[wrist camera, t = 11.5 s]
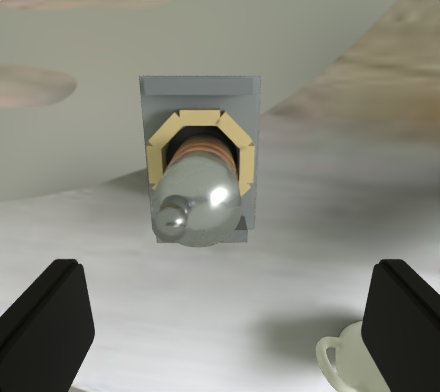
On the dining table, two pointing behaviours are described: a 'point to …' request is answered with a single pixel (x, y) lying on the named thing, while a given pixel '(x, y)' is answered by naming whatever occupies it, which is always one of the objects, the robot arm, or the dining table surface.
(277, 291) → the dining table surface
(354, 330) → the pitcher
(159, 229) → the cocktail shaker
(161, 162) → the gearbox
